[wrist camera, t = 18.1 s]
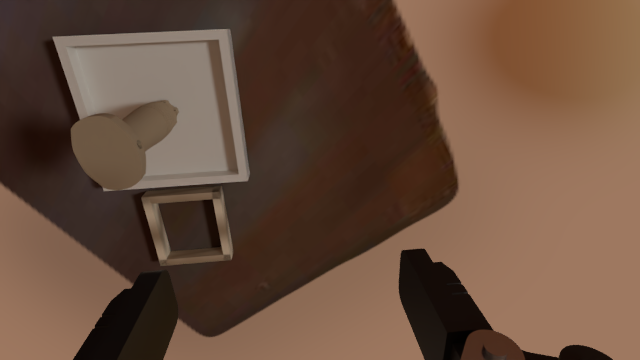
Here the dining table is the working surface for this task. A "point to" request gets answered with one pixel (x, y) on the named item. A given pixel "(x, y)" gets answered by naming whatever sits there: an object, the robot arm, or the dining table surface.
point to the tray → (166, 98)
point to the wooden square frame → (159, 234)
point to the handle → (121, 143)
